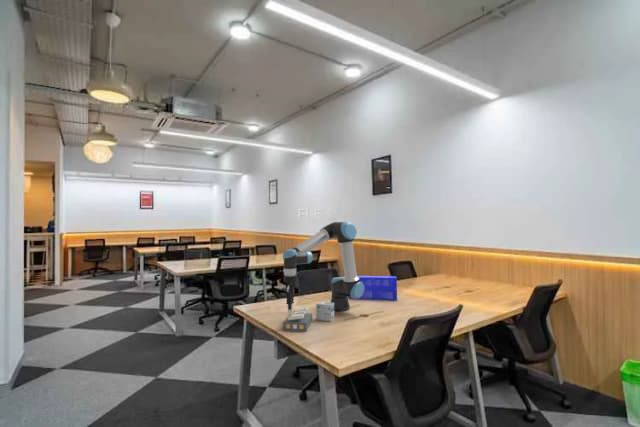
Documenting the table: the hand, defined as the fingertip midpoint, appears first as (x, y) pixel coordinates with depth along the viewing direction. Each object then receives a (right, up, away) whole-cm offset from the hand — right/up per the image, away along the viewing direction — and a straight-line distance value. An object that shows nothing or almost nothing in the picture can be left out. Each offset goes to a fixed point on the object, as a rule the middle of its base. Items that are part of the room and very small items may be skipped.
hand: (290, 314), depth 197 cm
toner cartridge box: (+62, -10, +75) cm, 98 cm away
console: (+5, -9, +6) cm, 12 cm away
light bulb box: (+22, -9, +19) cm, 30 cm away
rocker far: (+5, -1, +12) cm, 13 cm away
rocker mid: (+4, -1, +6) cm, 7 cm away
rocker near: (+3, -1, -1) cm, 4 cm away
